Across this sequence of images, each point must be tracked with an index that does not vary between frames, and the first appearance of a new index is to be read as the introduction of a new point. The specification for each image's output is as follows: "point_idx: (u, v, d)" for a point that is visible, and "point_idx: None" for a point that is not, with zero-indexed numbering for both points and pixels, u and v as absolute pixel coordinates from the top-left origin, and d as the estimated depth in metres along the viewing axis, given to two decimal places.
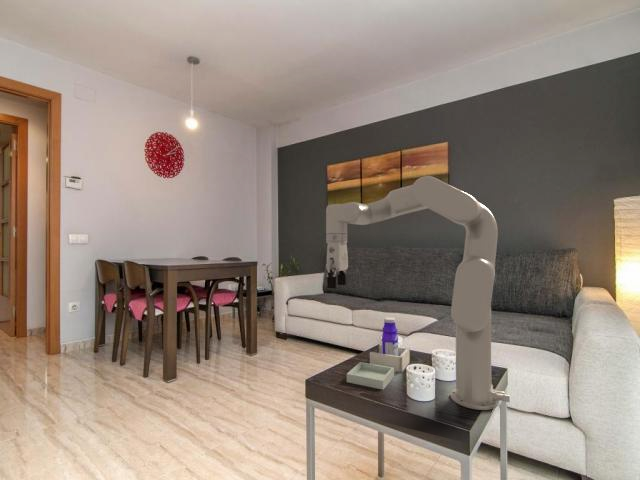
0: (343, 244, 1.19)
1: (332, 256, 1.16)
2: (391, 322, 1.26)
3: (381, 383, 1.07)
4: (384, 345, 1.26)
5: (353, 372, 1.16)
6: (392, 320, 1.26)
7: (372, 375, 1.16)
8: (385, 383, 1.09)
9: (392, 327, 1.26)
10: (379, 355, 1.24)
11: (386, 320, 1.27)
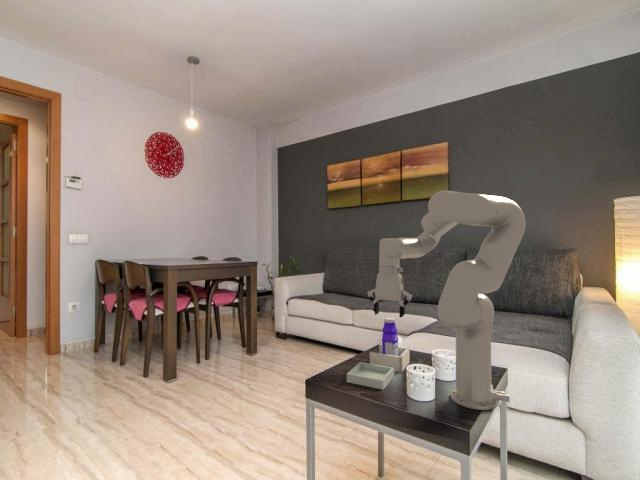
0: None
1: (402, 287, 1.27)
2: (391, 322, 1.26)
3: (381, 383, 1.07)
4: (384, 345, 1.26)
5: (353, 372, 1.16)
6: (392, 320, 1.26)
7: (372, 375, 1.16)
8: (385, 383, 1.09)
9: (392, 327, 1.26)
10: (379, 355, 1.24)
11: (386, 320, 1.27)
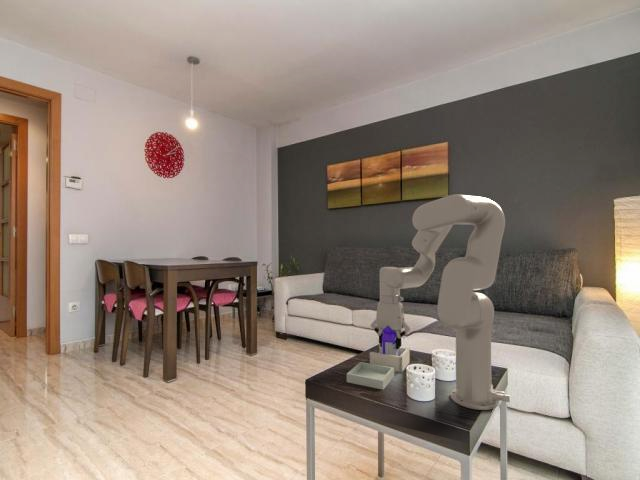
0: None
1: (403, 318, 1.26)
2: None
3: (381, 383, 1.07)
4: (384, 345, 1.26)
5: (353, 372, 1.16)
6: None
7: (372, 375, 1.16)
8: (385, 383, 1.09)
9: None
10: (379, 355, 1.24)
11: None
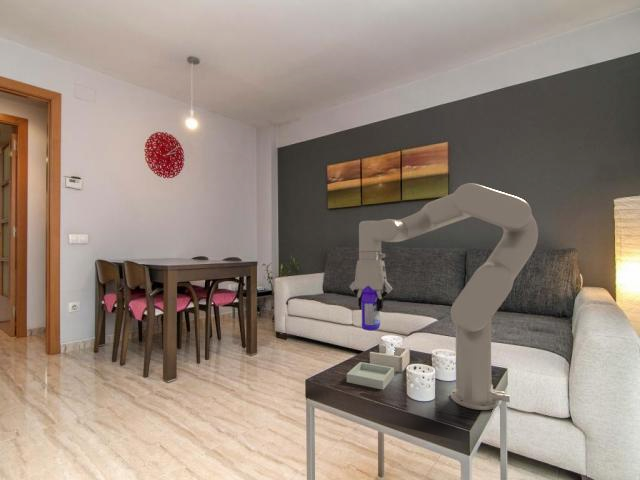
0: None
1: (385, 276, 1.13)
2: None
3: (381, 383, 1.07)
4: (363, 306, 1.13)
5: (353, 372, 1.16)
6: None
7: (372, 375, 1.16)
8: (385, 383, 1.09)
9: None
10: (379, 355, 1.24)
11: None
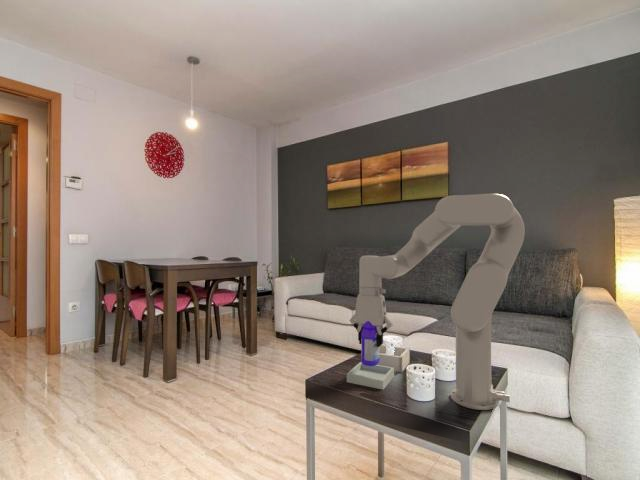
0: None
1: (385, 312, 1.13)
2: None
3: (381, 383, 1.07)
4: (363, 342, 1.13)
5: (353, 372, 1.16)
6: None
7: (372, 375, 1.16)
8: (385, 383, 1.09)
9: None
10: None
11: None
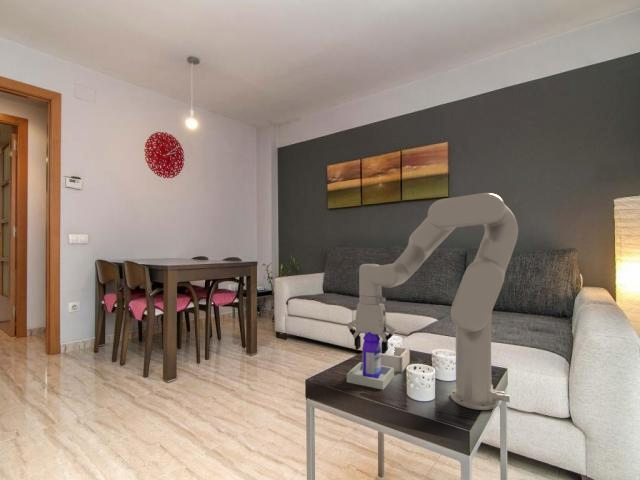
0: None
1: (385, 319, 1.13)
2: None
3: (381, 383, 1.07)
4: (365, 355, 1.12)
5: (353, 372, 1.16)
6: None
7: None
8: (385, 383, 1.09)
9: (374, 335, 1.13)
10: None
11: None
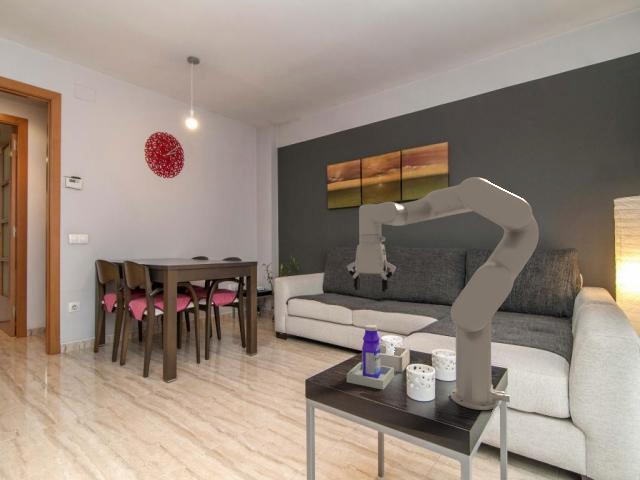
0: None
1: (385, 258, 1.13)
2: (372, 330, 1.13)
3: (381, 383, 1.07)
4: (364, 355, 1.12)
5: (353, 372, 1.16)
6: (373, 328, 1.13)
7: None
8: (385, 383, 1.09)
9: (373, 336, 1.13)
10: None
11: (367, 328, 1.14)
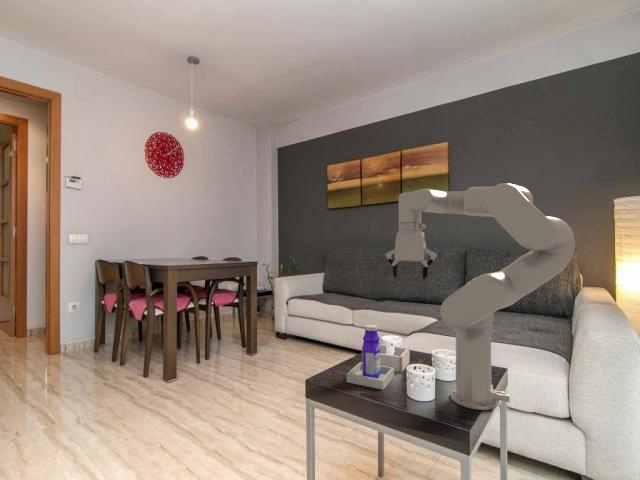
0: None
1: (425, 246, 1.14)
2: (372, 330, 1.13)
3: (381, 383, 1.07)
4: (364, 355, 1.12)
5: (353, 372, 1.16)
6: (373, 328, 1.13)
7: None
8: (385, 383, 1.09)
9: (373, 336, 1.13)
10: None
11: (367, 328, 1.14)
